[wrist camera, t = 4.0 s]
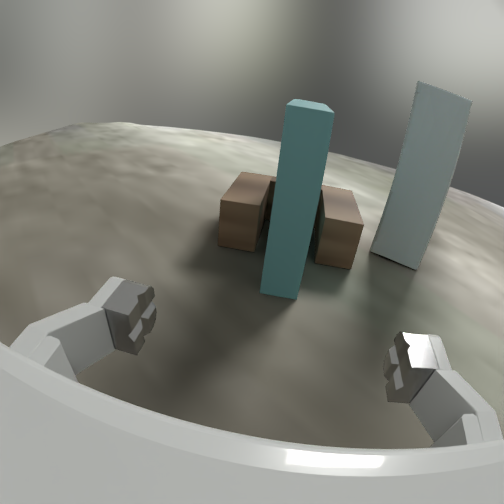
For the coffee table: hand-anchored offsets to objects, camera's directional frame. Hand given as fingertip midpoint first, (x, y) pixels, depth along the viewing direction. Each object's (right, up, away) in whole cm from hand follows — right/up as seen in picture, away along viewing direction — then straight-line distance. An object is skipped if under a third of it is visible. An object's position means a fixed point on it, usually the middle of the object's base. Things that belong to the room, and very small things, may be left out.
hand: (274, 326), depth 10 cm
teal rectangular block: (+2, +2, +15) cm, 16 cm away
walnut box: (+3, +4, +19) cm, 19 cm away
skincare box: (+18, +5, +25) cm, 31 cm away
